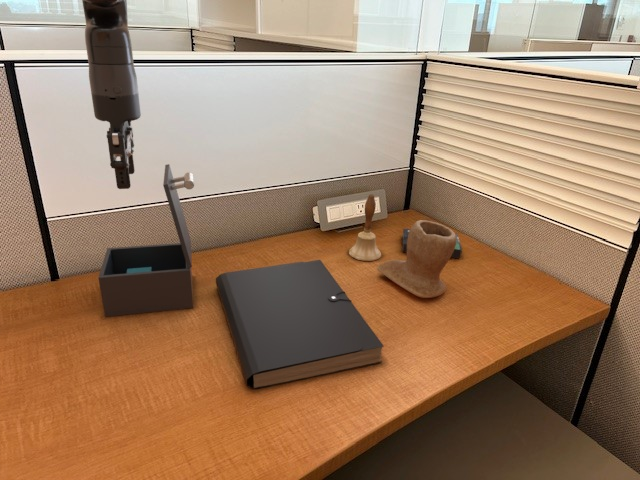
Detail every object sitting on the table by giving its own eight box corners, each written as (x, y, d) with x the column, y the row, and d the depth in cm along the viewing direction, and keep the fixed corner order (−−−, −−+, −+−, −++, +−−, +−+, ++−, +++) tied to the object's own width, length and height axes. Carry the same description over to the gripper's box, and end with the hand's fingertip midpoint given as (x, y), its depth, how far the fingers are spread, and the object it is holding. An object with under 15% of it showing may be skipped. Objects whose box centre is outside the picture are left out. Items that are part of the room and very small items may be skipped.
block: (128, 300, 97) (124, 280, 95) (130, 288, 101) (127, 268, 99) (152, 298, 98) (150, 278, 96) (154, 286, 102) (151, 266, 100)
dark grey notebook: (385, 344, 82) (245, 373, 75) (383, 362, 84) (246, 393, 77) (321, 258, 110) (215, 272, 103) (320, 273, 112) (216, 289, 104)
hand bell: (371, 244, 127) (376, 187, 121) (387, 258, 121) (394, 198, 114) (343, 249, 124) (347, 191, 117) (358, 263, 117) (363, 202, 111)
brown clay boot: (458, 292, 107) (470, 231, 101) (419, 306, 101) (429, 242, 95) (412, 264, 118) (420, 207, 112) (374, 275, 112) (381, 216, 106)
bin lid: (163, 185, 85) (191, 179, 86) (165, 164, 96) (190, 159, 97) (187, 268, 93) (213, 262, 94) (187, 240, 104) (210, 235, 105)
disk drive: (402, 253, 124) (461, 259, 122) (403, 244, 123) (462, 249, 121) (401, 237, 133) (456, 242, 131) (402, 228, 132) (458, 232, 130)
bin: (105, 317, 93) (98, 277, 89) (113, 284, 104) (107, 248, 100) (193, 308, 97) (190, 270, 93) (192, 277, 108) (189, 242, 104)
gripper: (97, 84, 88) (109, 170, 94) (83, 97, 75) (99, 194, 82) (141, 85, 89) (149, 168, 96) (134, 97, 77) (145, 192, 84)
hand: (126, 180), depth 89 cm, fingers open, 8 cm apart
